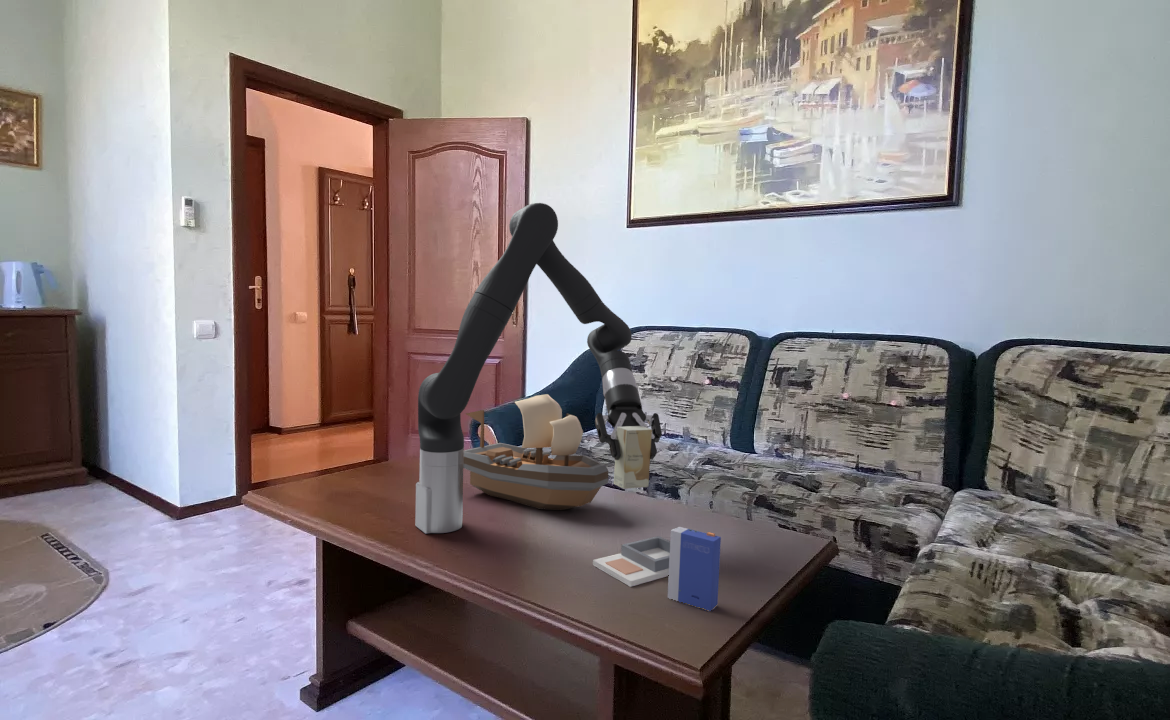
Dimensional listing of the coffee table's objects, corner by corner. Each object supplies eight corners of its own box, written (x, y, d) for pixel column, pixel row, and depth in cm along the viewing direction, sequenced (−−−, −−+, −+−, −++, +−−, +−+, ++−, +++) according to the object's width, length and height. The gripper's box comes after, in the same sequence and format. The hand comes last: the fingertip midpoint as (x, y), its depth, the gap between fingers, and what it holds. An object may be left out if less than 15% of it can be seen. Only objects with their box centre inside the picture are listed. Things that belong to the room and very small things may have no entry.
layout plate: (630, 586, 109) (631, 569, 109) (592, 565, 118) (593, 549, 118) (695, 567, 118) (696, 552, 118) (656, 549, 127) (657, 534, 127)
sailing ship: (579, 527, 139) (583, 405, 137) (440, 489, 165) (442, 386, 163) (618, 509, 153) (623, 399, 151) (484, 477, 178) (487, 382, 177)
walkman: (717, 606, 103) (721, 534, 102) (710, 612, 101) (713, 539, 100) (674, 592, 107) (677, 523, 107) (666, 598, 105) (669, 528, 104)
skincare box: (623, 490, 127) (626, 430, 126) (612, 484, 131) (615, 426, 130) (650, 487, 130) (653, 428, 129) (639, 481, 134) (641, 424, 133)
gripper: (593, 382, 134) (605, 448, 124) (656, 383, 138) (673, 447, 127) (586, 403, 140) (597, 468, 129) (647, 403, 143) (663, 466, 133)
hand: (635, 457), depth 128 cm, fingers closed on skincare box, 7 cm apart
